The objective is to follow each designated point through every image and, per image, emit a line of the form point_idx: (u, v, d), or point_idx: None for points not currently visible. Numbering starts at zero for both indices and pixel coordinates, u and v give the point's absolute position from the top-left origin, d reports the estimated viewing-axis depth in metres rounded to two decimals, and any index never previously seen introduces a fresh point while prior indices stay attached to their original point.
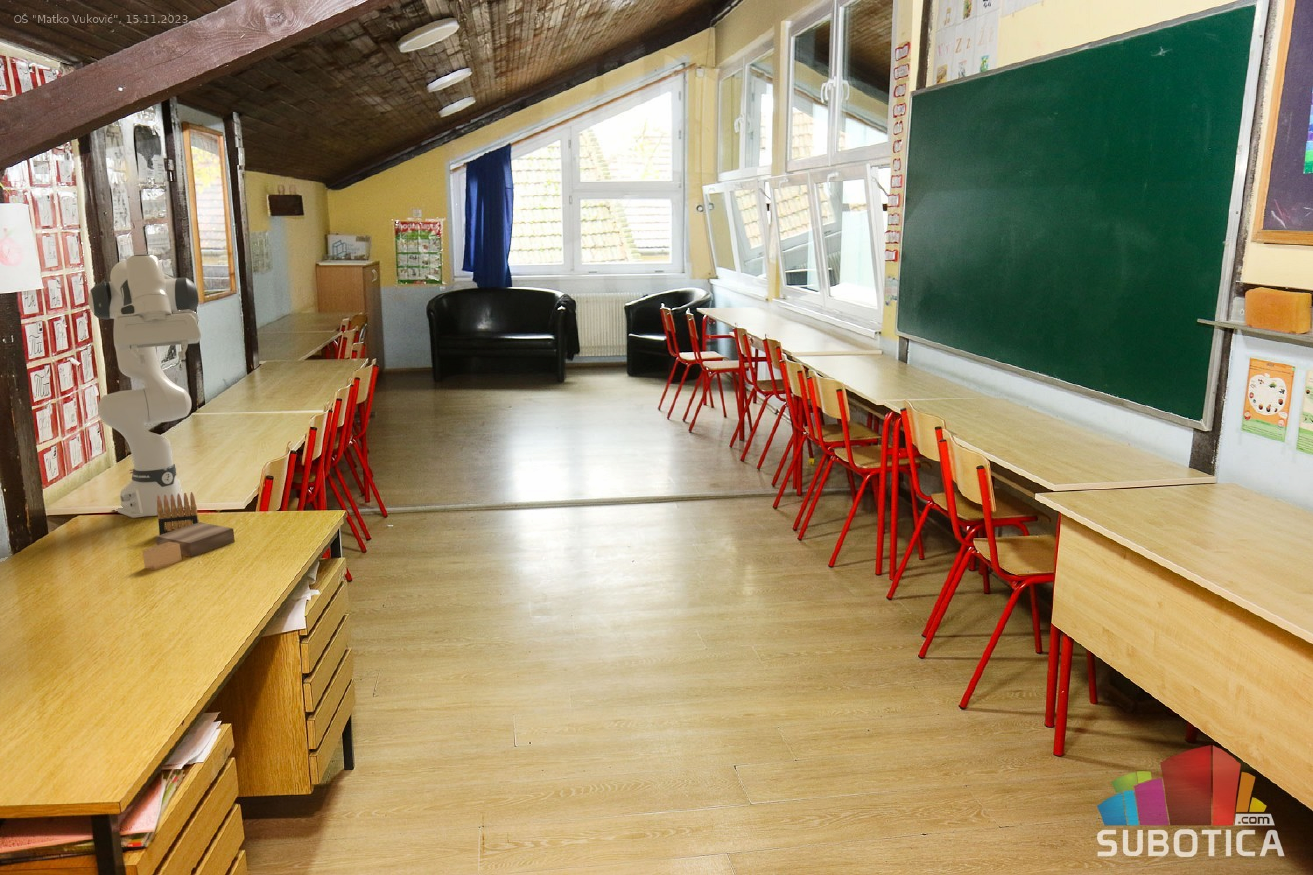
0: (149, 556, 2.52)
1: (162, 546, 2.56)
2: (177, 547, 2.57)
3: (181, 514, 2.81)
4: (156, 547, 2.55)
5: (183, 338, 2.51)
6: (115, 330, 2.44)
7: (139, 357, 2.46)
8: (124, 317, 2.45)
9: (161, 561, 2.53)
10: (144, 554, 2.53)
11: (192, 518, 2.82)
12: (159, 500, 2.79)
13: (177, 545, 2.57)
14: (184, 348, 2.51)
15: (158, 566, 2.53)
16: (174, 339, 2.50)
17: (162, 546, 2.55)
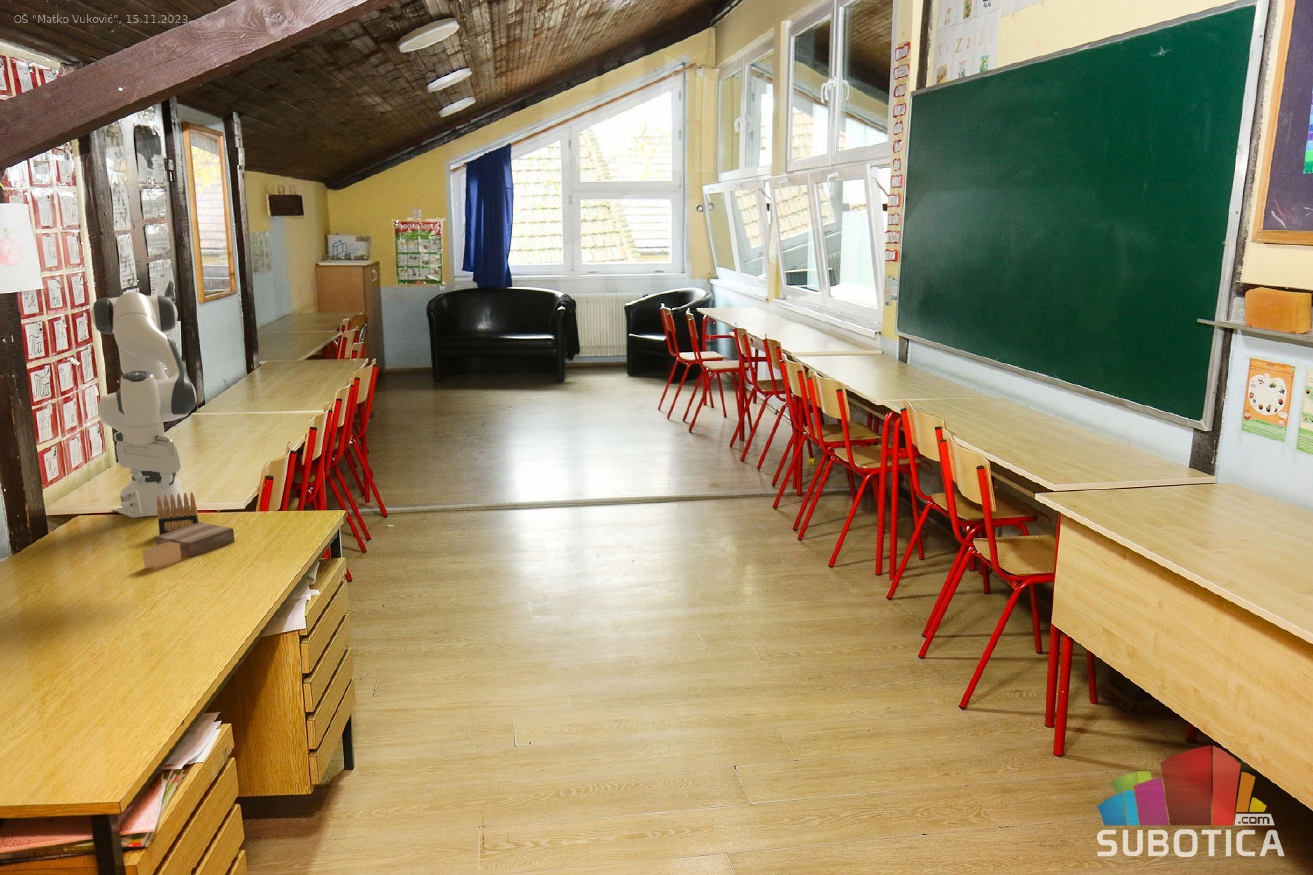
0: (149, 556, 2.52)
1: (162, 546, 2.56)
2: (177, 547, 2.57)
3: (181, 514, 2.81)
4: (156, 547, 2.55)
5: (158, 471, 2.46)
6: (117, 453, 2.52)
7: (136, 480, 2.53)
8: (120, 442, 2.50)
9: (161, 561, 2.53)
10: (144, 554, 2.53)
11: (192, 518, 2.82)
12: (159, 500, 2.79)
13: (177, 545, 2.57)
14: (162, 480, 2.48)
15: (158, 566, 2.53)
16: (153, 470, 2.47)
17: (162, 547, 2.55)
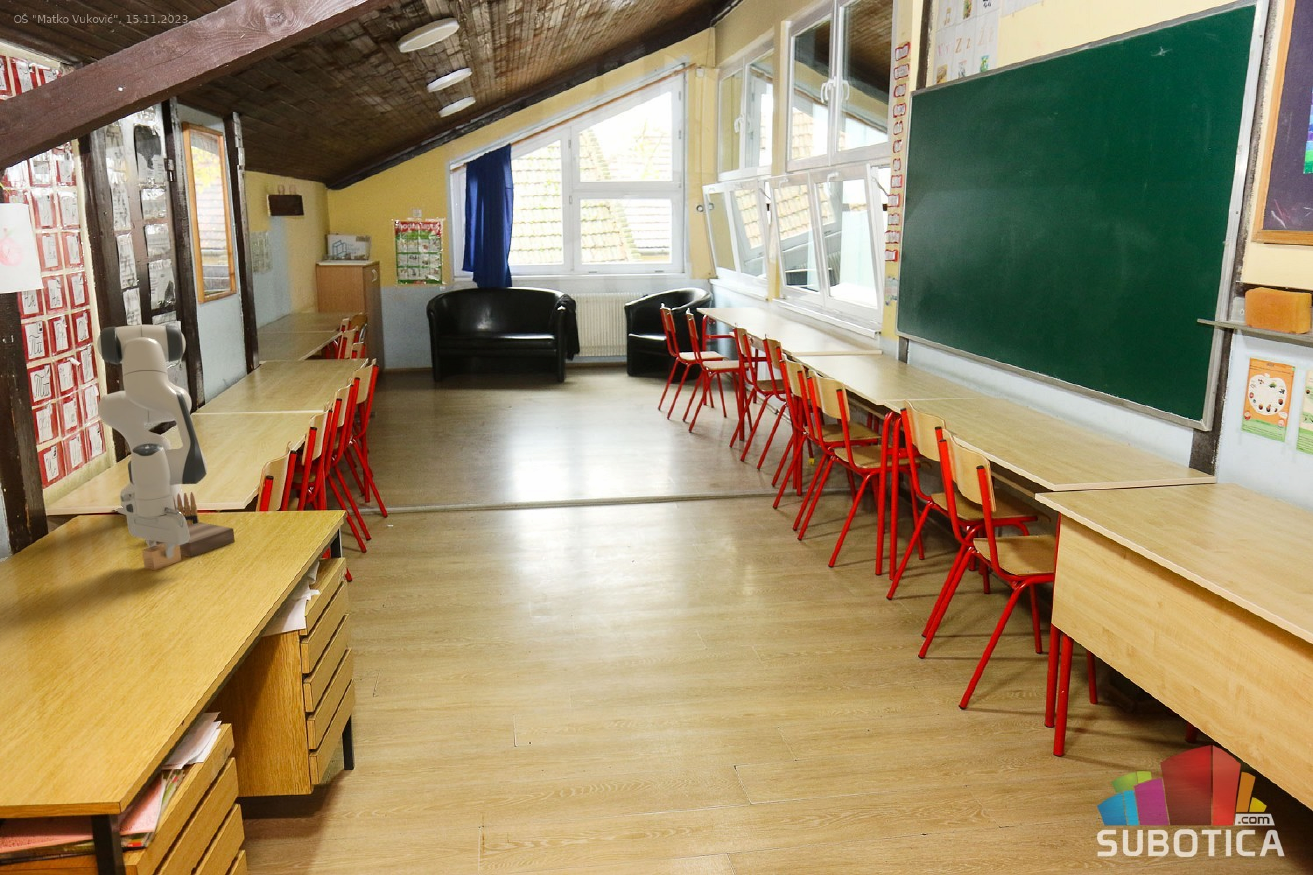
0: (149, 555, 2.52)
1: (162, 546, 2.56)
2: (177, 547, 2.57)
3: None
4: (156, 547, 2.55)
5: (168, 542, 2.51)
6: (127, 523, 2.56)
7: None
8: (130, 513, 2.54)
9: (161, 561, 2.53)
10: (144, 554, 2.52)
11: (192, 518, 2.82)
12: None
13: (177, 545, 2.57)
14: (166, 549, 2.53)
15: (158, 566, 2.53)
16: (163, 541, 2.52)
17: (162, 546, 2.55)
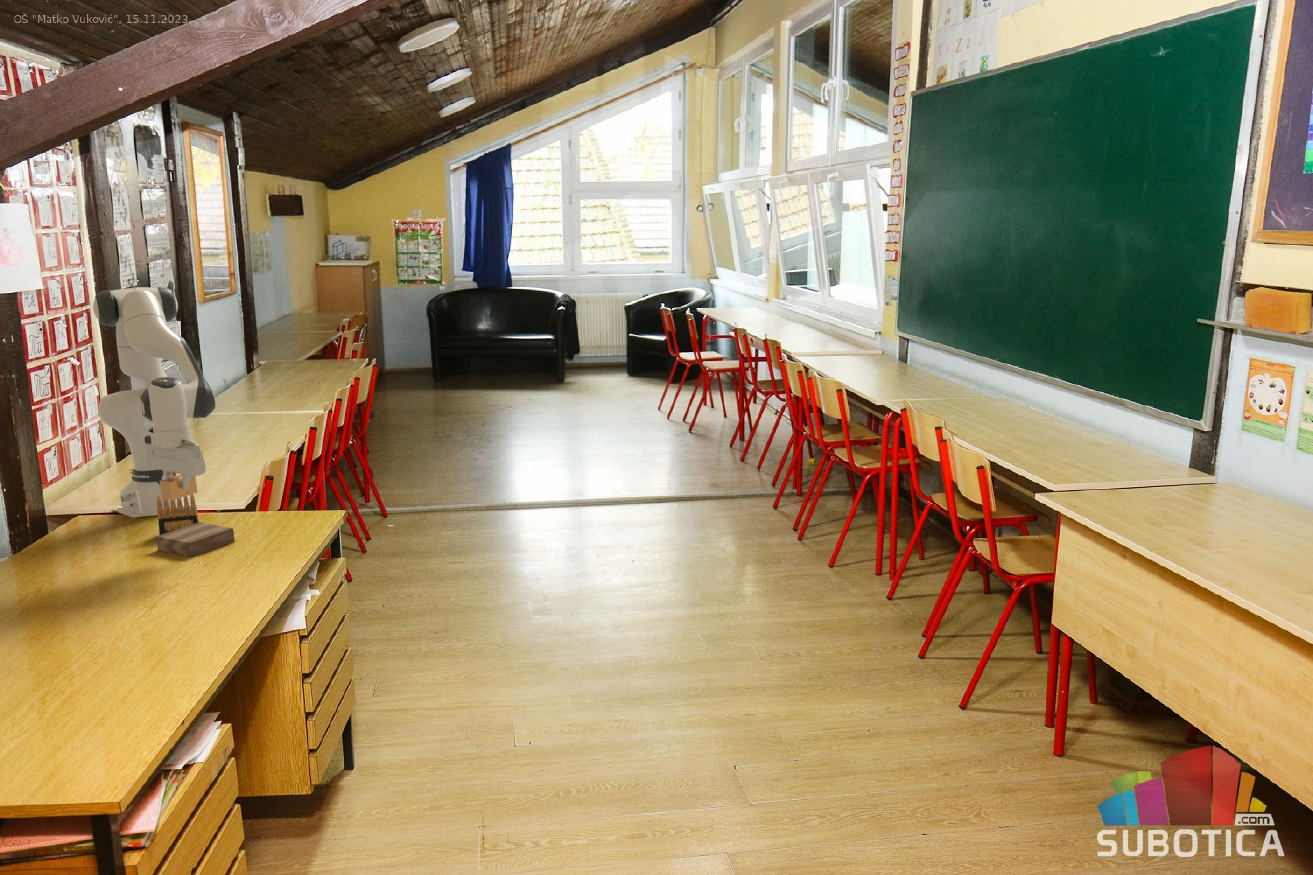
0: (166, 486, 2.59)
1: (178, 477, 2.63)
2: (193, 479, 2.65)
3: (181, 514, 2.81)
4: (173, 478, 2.62)
5: (185, 473, 2.58)
6: (145, 455, 2.64)
7: None
8: (148, 445, 2.62)
9: (177, 491, 2.61)
10: (161, 484, 2.60)
11: (192, 518, 2.82)
12: (159, 500, 2.79)
13: (193, 477, 2.65)
14: (183, 481, 2.60)
15: (174, 496, 2.60)
16: (179, 473, 2.59)
17: (179, 478, 2.63)
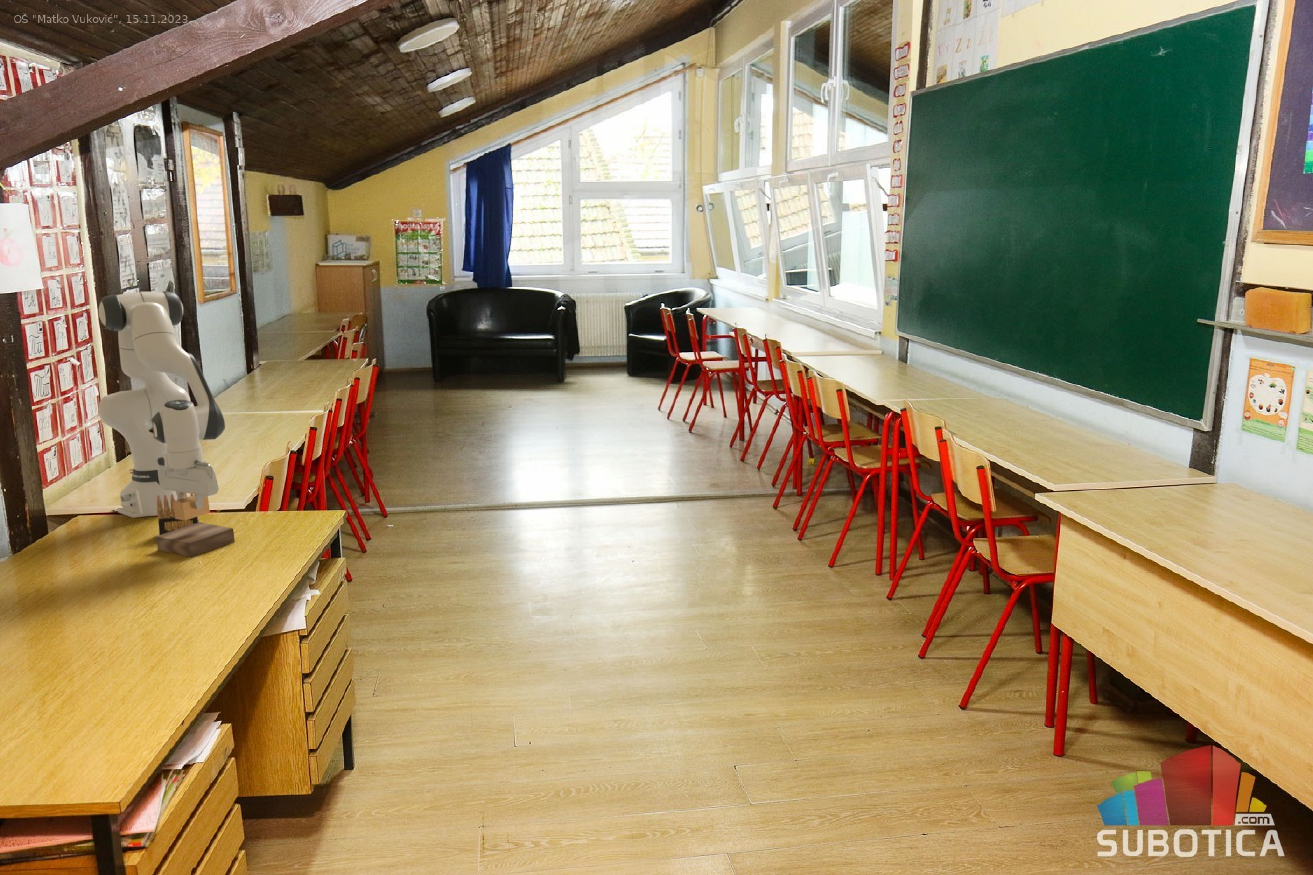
0: (180, 506, 2.64)
1: (191, 498, 2.68)
2: (205, 499, 2.70)
3: None
4: (186, 498, 2.67)
5: (198, 494, 2.63)
6: (158, 476, 2.69)
7: None
8: (161, 466, 2.66)
9: (191, 511, 2.66)
10: (174, 505, 2.65)
11: (192, 518, 2.82)
12: (159, 500, 2.79)
13: (205, 497, 2.70)
14: (196, 501, 2.65)
15: (188, 516, 2.65)
16: (193, 493, 2.64)
17: (192, 498, 2.67)
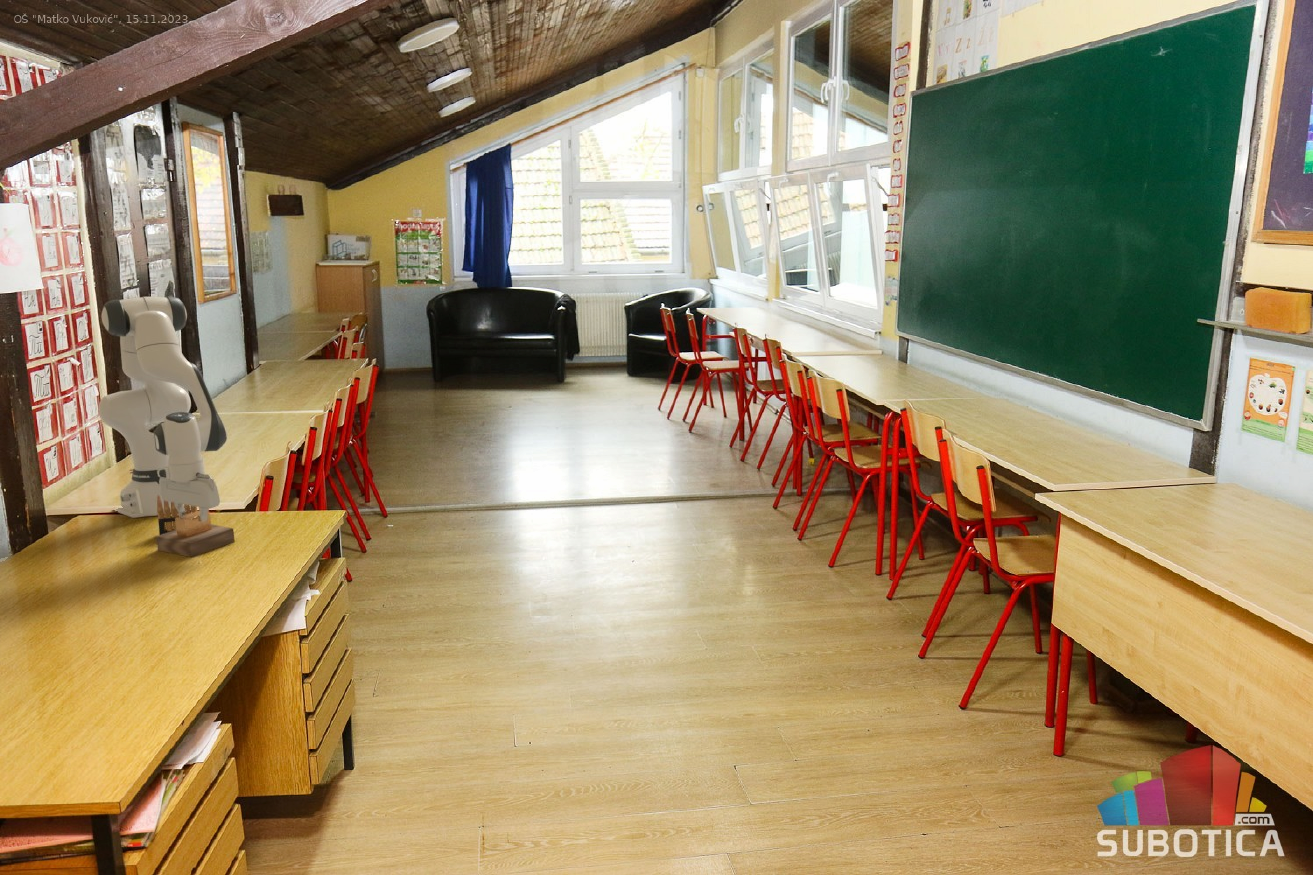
0: (182, 523, 2.65)
1: (193, 514, 2.69)
2: (207, 515, 2.71)
3: None
4: (188, 515, 2.68)
5: (199, 506, 2.64)
6: (160, 488, 2.69)
7: (179, 514, 2.70)
8: (163, 478, 2.67)
9: (192, 528, 2.67)
10: (176, 522, 2.66)
11: None
12: (159, 500, 2.79)
13: (207, 514, 2.71)
14: (200, 513, 2.65)
15: (190, 533, 2.66)
16: (194, 505, 2.65)
17: (194, 515, 2.69)
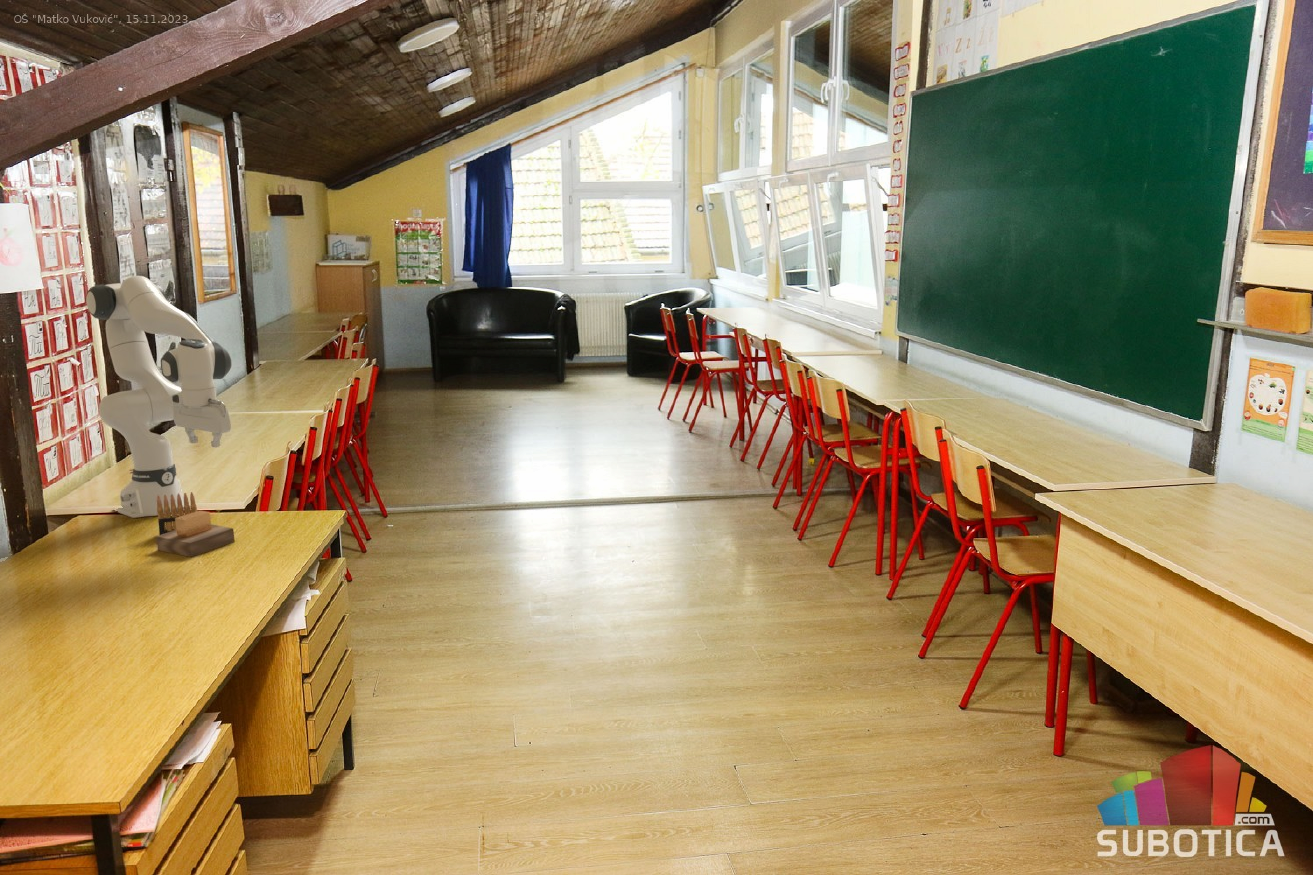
0: (182, 523, 2.65)
1: (193, 514, 2.69)
2: (207, 515, 2.71)
3: (181, 514, 2.81)
4: (188, 515, 2.68)
5: (211, 431, 2.70)
6: (173, 413, 2.76)
7: (189, 439, 2.77)
8: (176, 404, 2.74)
9: (192, 528, 2.67)
10: (176, 522, 2.66)
11: None
12: (159, 500, 2.79)
13: (207, 514, 2.71)
14: (214, 439, 2.72)
15: (190, 533, 2.66)
16: (206, 430, 2.71)
17: (194, 515, 2.69)
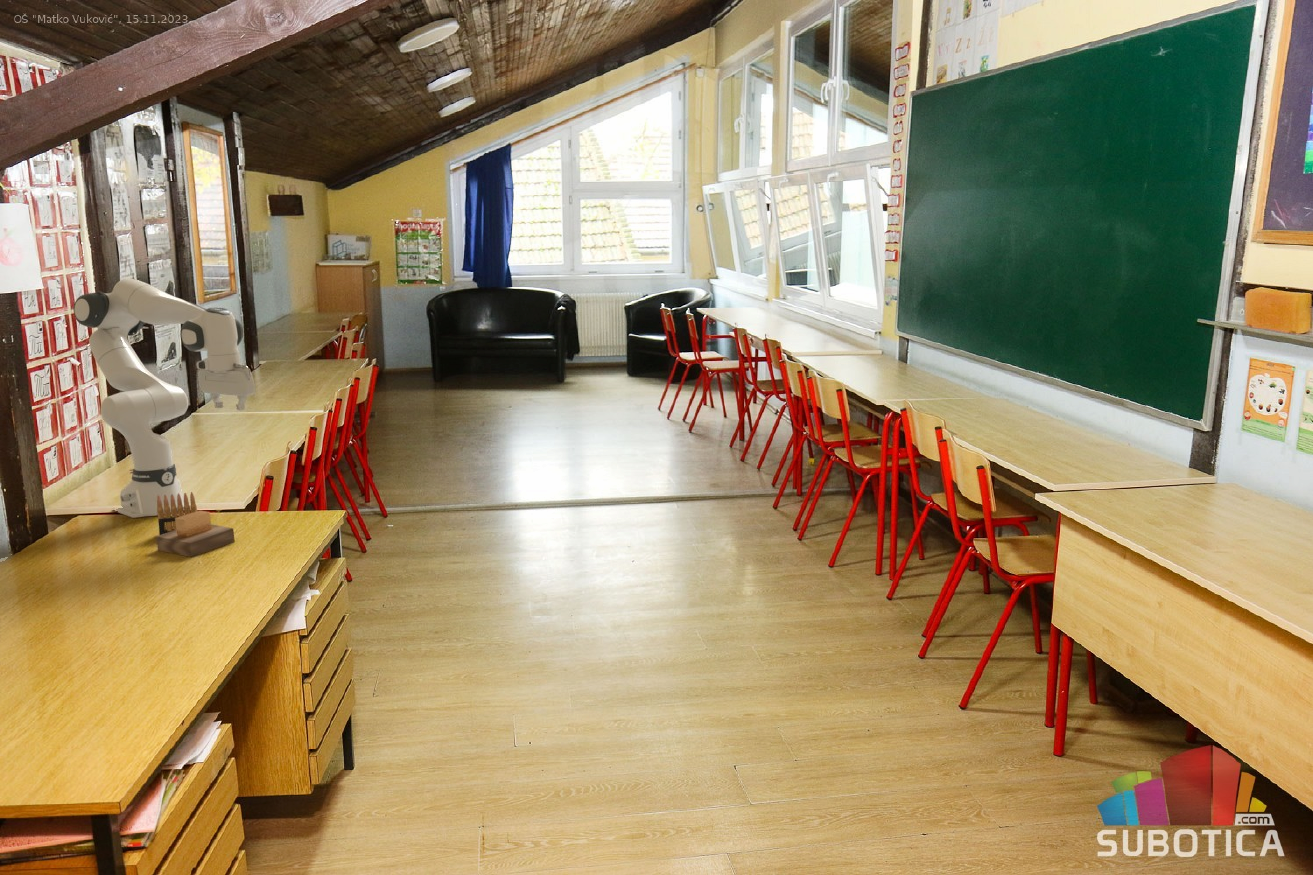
0: (182, 523, 2.65)
1: (193, 514, 2.69)
2: (207, 515, 2.71)
3: (181, 514, 2.81)
4: (188, 515, 2.68)
5: (236, 394, 2.83)
6: (199, 380, 2.89)
7: (215, 404, 2.90)
8: (202, 370, 2.87)
9: (192, 528, 2.67)
10: (176, 522, 2.66)
11: None
12: (159, 500, 2.79)
13: (207, 514, 2.71)
14: (239, 402, 2.85)
15: (190, 533, 2.66)
16: (231, 394, 2.84)
17: (194, 515, 2.69)
